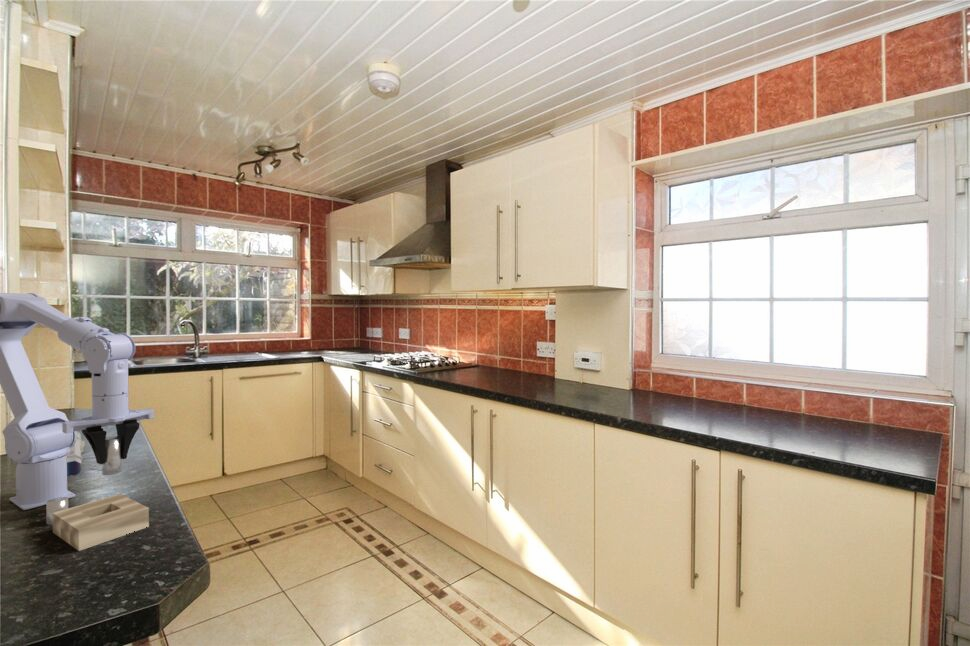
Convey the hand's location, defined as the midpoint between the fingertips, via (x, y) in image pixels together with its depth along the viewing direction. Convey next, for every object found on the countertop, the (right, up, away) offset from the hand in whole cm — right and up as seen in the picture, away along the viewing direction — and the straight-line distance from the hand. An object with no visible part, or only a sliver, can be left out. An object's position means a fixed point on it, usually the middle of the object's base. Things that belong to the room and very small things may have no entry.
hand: (111, 460), depth 92 cm
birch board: (+7, -9, -10) cm, 15 cm away
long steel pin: (0, -2, 0) cm, 2 cm away
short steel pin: (-4, -9, -7) cm, 12 cm away
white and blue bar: (-31, -9, +26) cm, 41 cm away
